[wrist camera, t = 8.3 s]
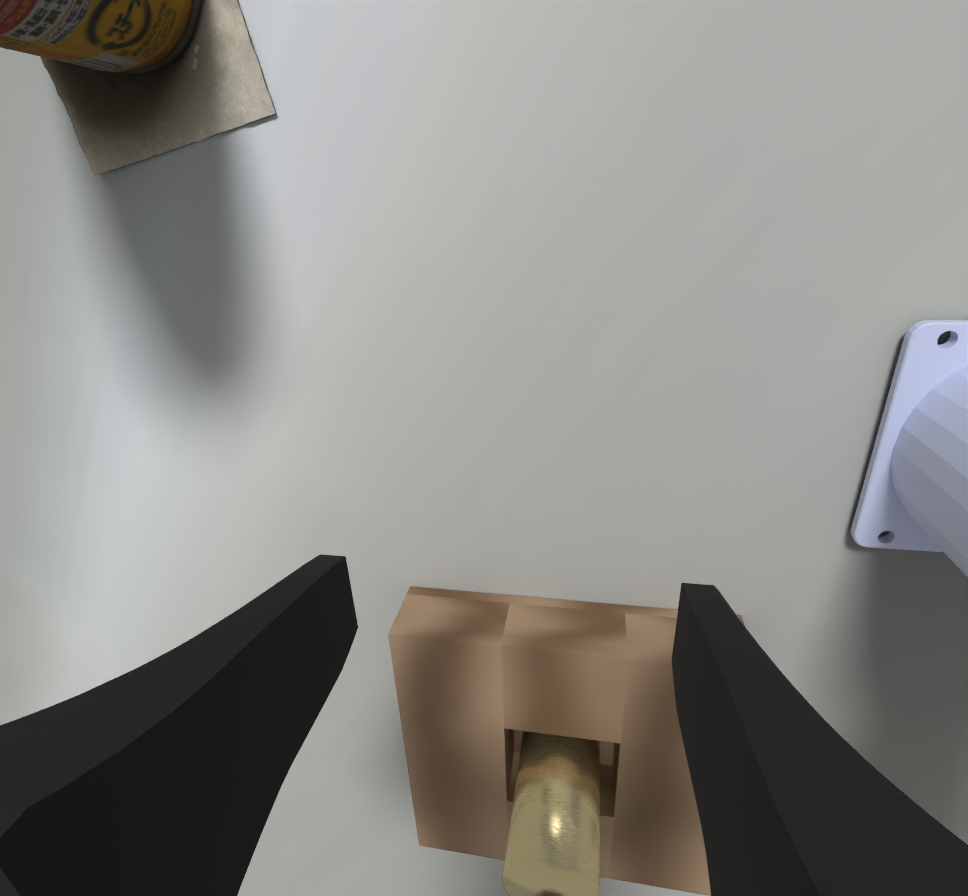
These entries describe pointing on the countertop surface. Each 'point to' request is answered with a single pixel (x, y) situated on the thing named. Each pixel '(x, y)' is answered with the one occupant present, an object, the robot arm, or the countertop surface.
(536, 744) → the pin
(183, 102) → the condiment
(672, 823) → the socket block
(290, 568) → the countertop surface
